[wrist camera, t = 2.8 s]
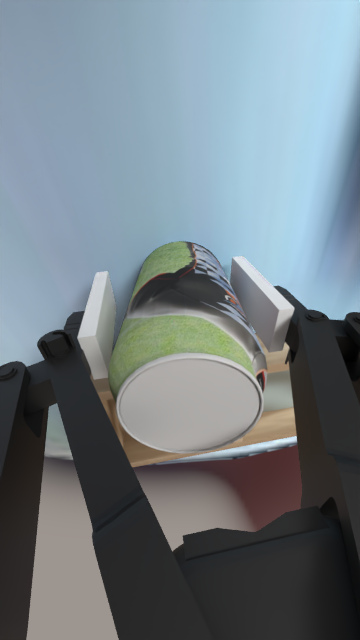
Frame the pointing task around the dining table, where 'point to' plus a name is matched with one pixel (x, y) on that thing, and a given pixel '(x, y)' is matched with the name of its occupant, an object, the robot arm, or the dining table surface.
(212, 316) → the beverage can
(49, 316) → the dining table surface
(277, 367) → the walled box
